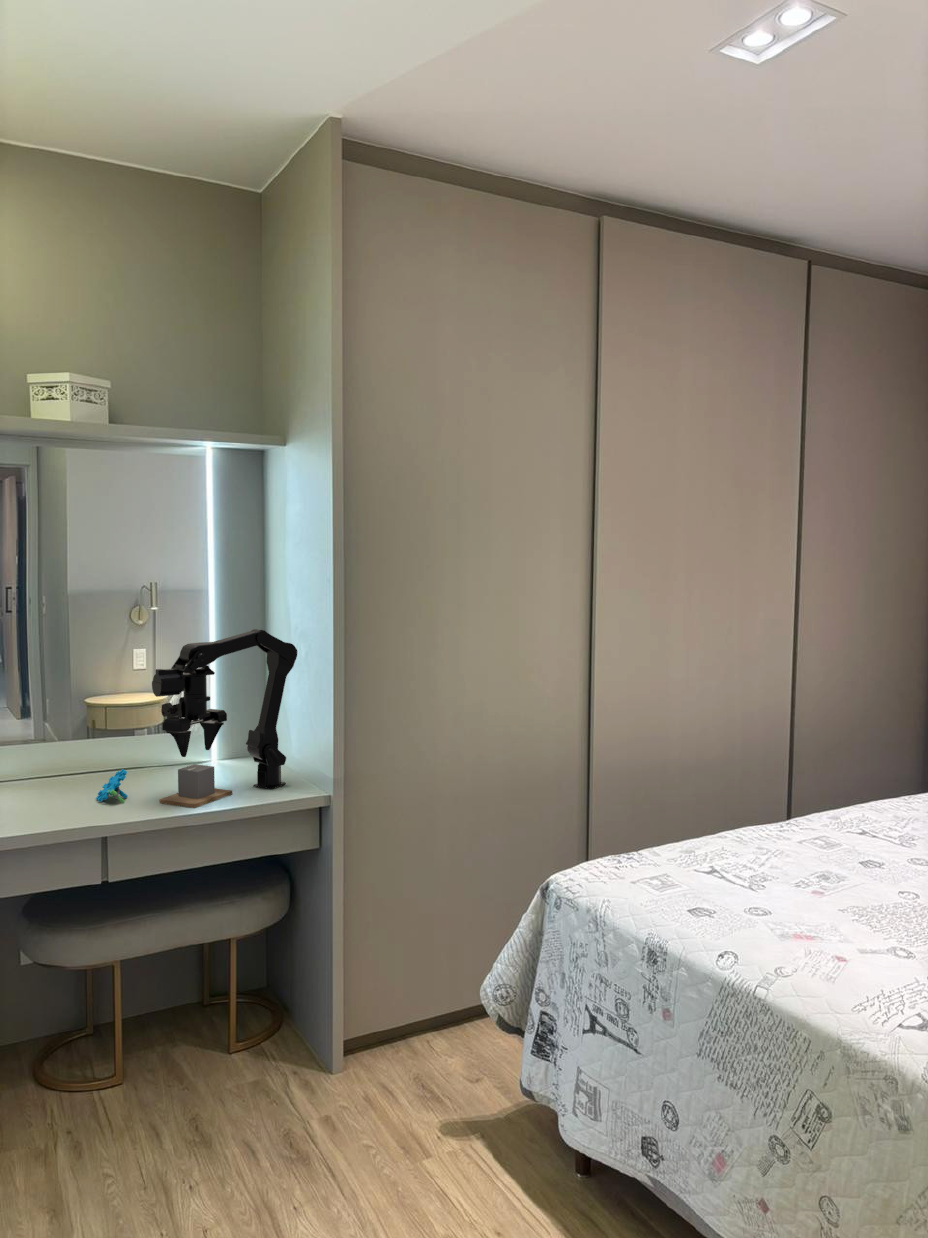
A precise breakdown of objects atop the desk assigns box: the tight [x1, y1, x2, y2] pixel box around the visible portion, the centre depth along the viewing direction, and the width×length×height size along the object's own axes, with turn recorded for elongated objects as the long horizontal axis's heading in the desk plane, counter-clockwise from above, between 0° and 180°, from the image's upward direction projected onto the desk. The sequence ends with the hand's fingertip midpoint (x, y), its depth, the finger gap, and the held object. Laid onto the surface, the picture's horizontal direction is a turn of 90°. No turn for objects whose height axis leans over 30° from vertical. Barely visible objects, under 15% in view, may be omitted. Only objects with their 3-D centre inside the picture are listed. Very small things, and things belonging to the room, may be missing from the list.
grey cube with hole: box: [177, 764, 216, 799], centre depth 247 cm, size 6×6×7 cm
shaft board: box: [159, 787, 233, 809], centre depth 247 cm, size 15×11×4 cm
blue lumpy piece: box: [95, 768, 128, 804], centre depth 246 cm, size 11×6×10 cm
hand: (195, 753), depth 247 cm, fingers open, 9 cm apart
